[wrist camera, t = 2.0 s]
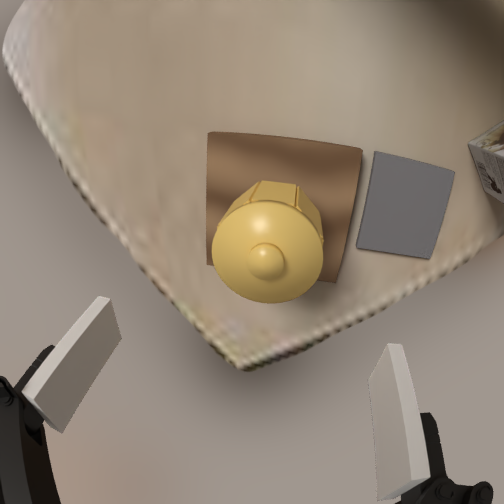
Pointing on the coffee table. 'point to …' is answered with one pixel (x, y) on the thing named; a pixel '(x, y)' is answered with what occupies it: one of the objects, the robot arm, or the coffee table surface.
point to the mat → (404, 206)
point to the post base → (285, 171)
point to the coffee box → (490, 160)
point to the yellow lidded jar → (269, 243)
